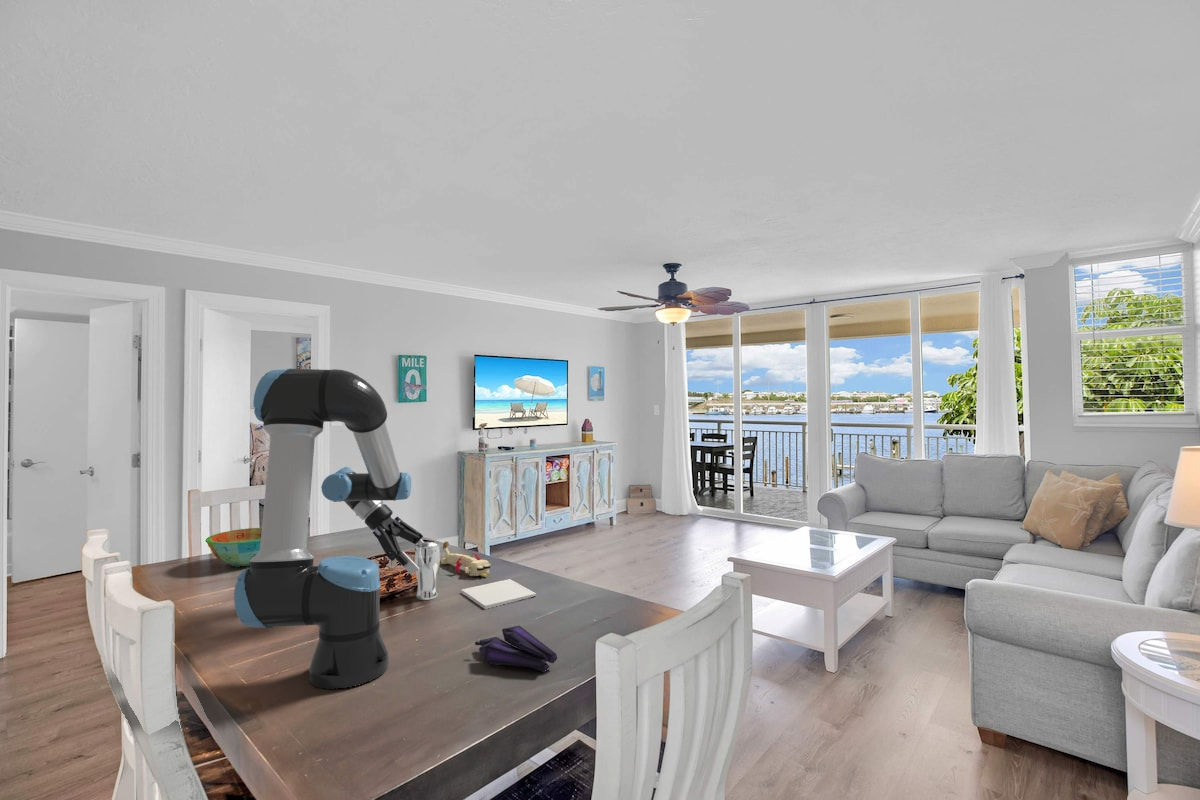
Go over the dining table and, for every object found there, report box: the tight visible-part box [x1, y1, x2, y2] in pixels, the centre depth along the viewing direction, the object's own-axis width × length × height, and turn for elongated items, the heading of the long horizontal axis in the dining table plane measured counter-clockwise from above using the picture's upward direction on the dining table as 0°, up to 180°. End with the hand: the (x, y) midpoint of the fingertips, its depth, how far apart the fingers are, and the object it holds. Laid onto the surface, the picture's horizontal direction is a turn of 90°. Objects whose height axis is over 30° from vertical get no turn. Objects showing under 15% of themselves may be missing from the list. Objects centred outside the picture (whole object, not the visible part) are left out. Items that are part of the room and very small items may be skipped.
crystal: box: [474, 625, 558, 672], centre depth 124 cm, size 7×12×20 cm
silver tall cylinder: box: [414, 541, 441, 601], centre depth 164 cm, size 7×7×15 cm
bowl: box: [205, 527, 262, 568], centre depth 195 cm, size 22×22×10 cm
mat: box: [460, 578, 537, 610], centre depth 165 cm, size 16×16×1 cm
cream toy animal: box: [440, 541, 491, 577], centre depth 189 cm, size 10×9×25 cm
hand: (424, 564), depth 165 cm, fingers open, 13 cm apart
